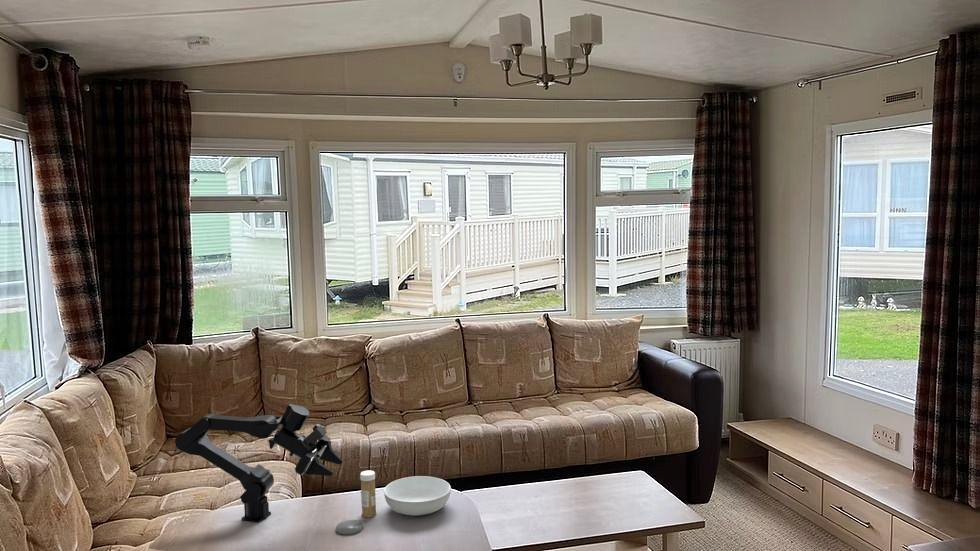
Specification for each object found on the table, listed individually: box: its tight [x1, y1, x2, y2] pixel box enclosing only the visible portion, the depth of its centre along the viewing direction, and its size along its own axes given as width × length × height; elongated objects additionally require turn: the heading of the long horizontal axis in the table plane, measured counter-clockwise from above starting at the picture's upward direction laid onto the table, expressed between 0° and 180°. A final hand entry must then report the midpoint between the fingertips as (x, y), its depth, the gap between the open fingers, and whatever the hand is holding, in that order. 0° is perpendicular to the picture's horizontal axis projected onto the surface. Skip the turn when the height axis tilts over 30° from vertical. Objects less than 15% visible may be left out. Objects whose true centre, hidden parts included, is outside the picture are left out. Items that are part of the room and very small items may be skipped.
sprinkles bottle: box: [359, 469, 377, 518], centre depth 207 cm, size 5×5×14 cm
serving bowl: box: [383, 475, 452, 516], centre depth 211 cm, size 21×21×7 cm
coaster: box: [335, 519, 365, 536], centre depth 198 cm, size 8×8×1 cm
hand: (337, 468), depth 203 cm, fingers open, 9 cm apart
